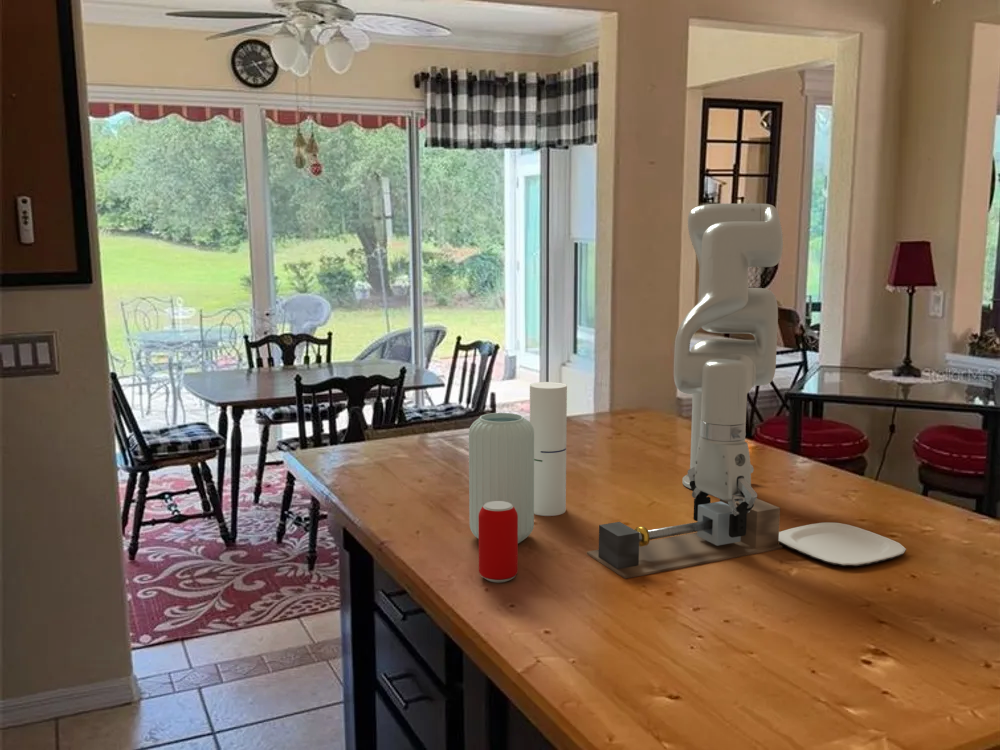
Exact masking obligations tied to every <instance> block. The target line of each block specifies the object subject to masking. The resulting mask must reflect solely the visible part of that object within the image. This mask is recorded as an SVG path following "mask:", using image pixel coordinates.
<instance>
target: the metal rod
mask: <svg viewBox="0 0 1000 750" xmlns="http://www.w3.org/2000/svg"><path fill="white" fill-rule="evenodd" d="M712 528H713V520H707V521H701V522H697V521H696V522H690V523H689V522H688V523H683V524H679V525H673V526H665V527H660V528H655V529H648V528H647V527H645V526H637V527H635V528H634V530H635V531H637V532H639V546H640V547H641V546H647V545H648V544H649V541H651V540H656V539H662V538H668V537H673V536H679V535H685V534H691V533H696V532H698V531H704V530H710V529H712Z"/></svg>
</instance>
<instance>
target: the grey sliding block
mask: <svg viewBox="0 0 1000 750" xmlns="http://www.w3.org/2000/svg"><path fill="white" fill-rule="evenodd" d="M730 514H733V513H732V511H731V508H730V506H729V505H728V504H726V503H724V502H721V501H720V500H719V501H716V502H710V503H708V504H702V505H698V520H697V521H696V522H701V521H707V520H713V528H712V529H710V530H704V531H698V532H697V536H699V537H701V538H703V539H705V540H707V541H709V542H711V543H713V544H715V545H717V546H718V545H724V544H729V543H734V542H740V539H741V536H739V537H734V538H732V537H730V536H729V517H730Z"/></svg>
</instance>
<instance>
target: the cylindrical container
mask: <svg viewBox="0 0 1000 750" xmlns="http://www.w3.org/2000/svg"><path fill="white" fill-rule="evenodd" d="M567 389H568V385H567V384H566V383H563V382H555V381H541V382H540V381H539V382H538V381H537V382H532V383H530V384H529V422H530V423H531V425H532V426H533V429H534V515H537V516H544V517H551V516H553V517H554V516H559V515H563V514H564V513H566V511H567V510H566V508H567V504H566V503H567V501H566V499H567V498H566V497H567V496H566V495H567V491H566V490H567V420H568V419H567V418H568V417H567V410H568V409H567V408H568V402H567V401H568V390H567Z"/></svg>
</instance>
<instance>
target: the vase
mask: <svg viewBox="0 0 1000 750" xmlns="http://www.w3.org/2000/svg"><path fill="white" fill-rule="evenodd" d="M468 429H469V430H468V479H469V481H468V485H469V486H468V489H469V495H468V496H469V499H468V501H469V508H468V509H469V513H468V514H469V529H470V531H471V533H472V534H473V536H474V537H475V538H477V540H479V518H478V516H479V512H480V510H481V508H482V507H483V505H484V504H486V503H488V502H492V501H504V502H508V503H510V504H512V505H513V506H514V508H515V510H516V512H517V515H518V544H520V543H522V542H523V541H524V540H525V539H527V538H528V537H529V536H530V535H531V534H532V532H533V530H534V526H535V514H534V429H533V426H532V425H531V423H530V420H528V419H527V418H525V417H524V416H523V415H522V414H518V413H512V412H511V413H510V412H492V413H486V414H482V415H480V416H479V417H478V418H476V420H474V421H473V422H472V423H471V425H470V426H469V428H468Z"/></svg>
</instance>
